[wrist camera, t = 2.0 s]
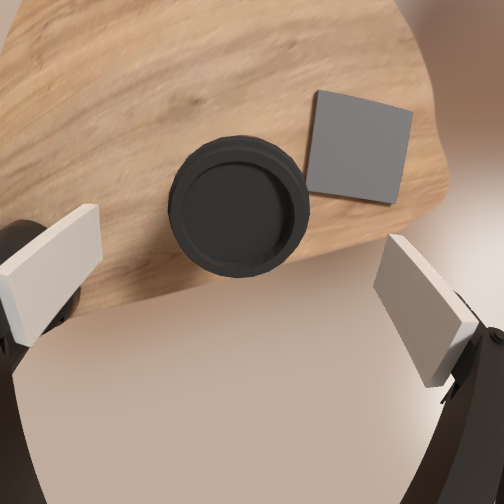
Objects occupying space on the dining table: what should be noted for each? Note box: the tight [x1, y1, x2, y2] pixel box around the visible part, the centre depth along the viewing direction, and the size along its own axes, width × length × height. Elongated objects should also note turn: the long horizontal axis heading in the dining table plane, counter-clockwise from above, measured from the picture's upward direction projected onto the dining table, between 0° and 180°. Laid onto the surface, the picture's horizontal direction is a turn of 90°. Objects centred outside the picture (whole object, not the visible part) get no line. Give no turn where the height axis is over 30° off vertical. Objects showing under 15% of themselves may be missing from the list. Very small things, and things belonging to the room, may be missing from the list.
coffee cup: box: [168, 135, 310, 278], centre depth 24 cm, size 8×8×15 cm
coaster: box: [305, 90, 413, 204], centre depth 29 cm, size 10×10×1 cm
